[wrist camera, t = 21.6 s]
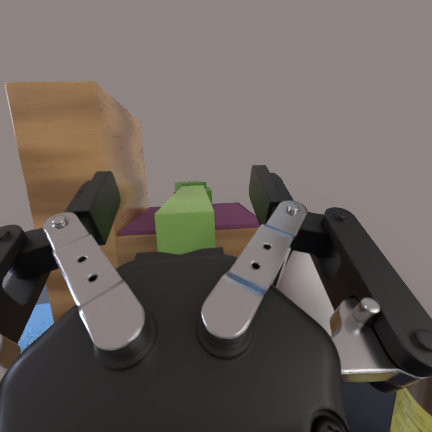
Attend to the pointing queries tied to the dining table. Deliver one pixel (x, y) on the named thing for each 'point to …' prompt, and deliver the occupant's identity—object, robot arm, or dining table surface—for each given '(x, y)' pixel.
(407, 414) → the sauce bottle
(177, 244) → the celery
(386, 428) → the dining table surface
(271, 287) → the robot arm
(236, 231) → the oak stand
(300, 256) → the milk bottle
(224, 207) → the towel
